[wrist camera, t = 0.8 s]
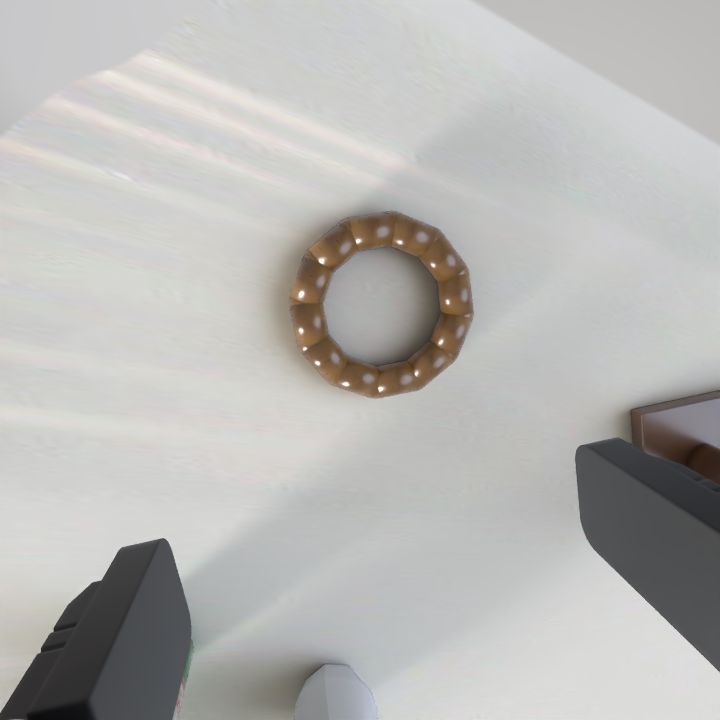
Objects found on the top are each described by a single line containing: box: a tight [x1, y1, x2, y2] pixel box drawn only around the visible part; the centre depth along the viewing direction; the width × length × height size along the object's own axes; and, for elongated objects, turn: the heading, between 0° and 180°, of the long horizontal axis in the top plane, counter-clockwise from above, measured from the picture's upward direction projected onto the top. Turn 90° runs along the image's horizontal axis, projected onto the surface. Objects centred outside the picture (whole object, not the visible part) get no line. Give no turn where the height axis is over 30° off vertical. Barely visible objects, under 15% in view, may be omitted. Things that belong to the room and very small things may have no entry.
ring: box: [289, 211, 474, 399], centre depth 32 cm, size 11×11×2 cm
